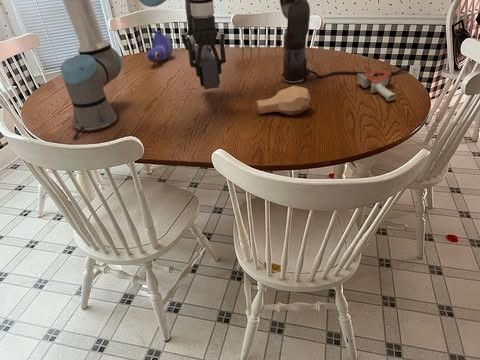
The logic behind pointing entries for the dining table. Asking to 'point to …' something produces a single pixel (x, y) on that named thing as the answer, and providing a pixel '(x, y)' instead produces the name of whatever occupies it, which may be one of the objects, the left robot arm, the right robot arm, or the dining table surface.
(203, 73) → the bar
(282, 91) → the squash
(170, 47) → the toy
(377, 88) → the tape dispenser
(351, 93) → the dining table surface
